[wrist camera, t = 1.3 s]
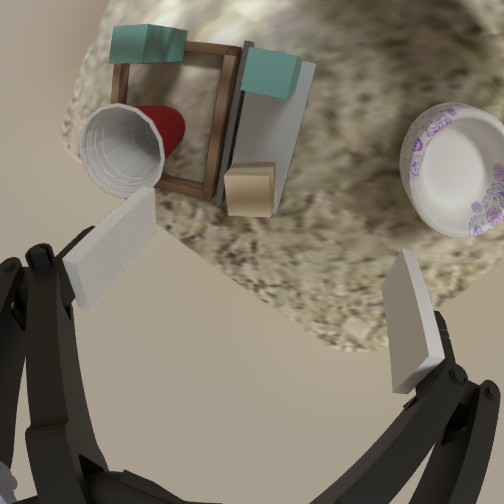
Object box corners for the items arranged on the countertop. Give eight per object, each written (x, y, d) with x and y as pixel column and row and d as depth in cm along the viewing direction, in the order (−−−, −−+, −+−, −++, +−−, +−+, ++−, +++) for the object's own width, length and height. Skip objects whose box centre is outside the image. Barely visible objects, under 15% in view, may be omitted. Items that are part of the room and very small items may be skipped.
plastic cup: (182, 178, 40) (139, 219, 31) (125, 140, 38) (70, 170, 29) (220, 114, 34) (178, 136, 24) (153, 76, 32) (95, 87, 23)
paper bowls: (400, 85, 27) (421, 90, 21) (500, 117, 24) (533, 132, 18) (383, 199, 36) (395, 230, 29) (475, 217, 33) (498, 248, 27)
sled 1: (126, 32, 28) (70, 32, 20) (243, 37, 27) (212, 25, 19) (117, 171, 41) (72, 203, 33) (215, 194, 40) (183, 236, 32)
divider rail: (247, 41, 28) (244, 40, 27) (254, 42, 28) (251, 41, 27) (218, 199, 41) (215, 204, 40) (223, 201, 41) (220, 205, 40)
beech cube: (235, 161, 36) (223, 175, 32) (275, 161, 35) (268, 176, 31) (238, 197, 39) (228, 215, 35) (276, 198, 38) (270, 217, 34)
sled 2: (256, 50, 28) (232, 44, 20) (316, 64, 28) (315, 61, 20) (227, 196, 40) (201, 235, 32) (277, 210, 40) (263, 254, 32)
